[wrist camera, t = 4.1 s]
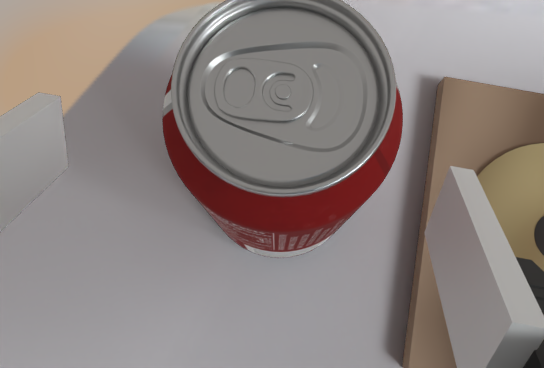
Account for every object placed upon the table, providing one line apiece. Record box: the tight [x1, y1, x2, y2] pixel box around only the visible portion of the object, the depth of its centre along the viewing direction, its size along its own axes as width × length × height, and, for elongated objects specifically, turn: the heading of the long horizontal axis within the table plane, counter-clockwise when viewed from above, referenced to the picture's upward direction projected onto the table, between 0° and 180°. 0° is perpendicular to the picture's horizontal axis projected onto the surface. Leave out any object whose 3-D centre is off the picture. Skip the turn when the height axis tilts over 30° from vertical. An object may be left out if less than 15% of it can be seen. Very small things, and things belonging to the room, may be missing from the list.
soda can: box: [163, 0, 403, 258], centre depth 17 cm, size 7×7×12 cm
